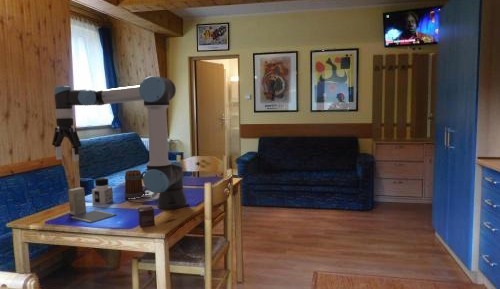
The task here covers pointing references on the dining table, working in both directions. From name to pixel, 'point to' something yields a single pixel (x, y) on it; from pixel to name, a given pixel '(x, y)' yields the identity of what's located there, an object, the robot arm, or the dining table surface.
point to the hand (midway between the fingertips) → (67, 160)
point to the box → (146, 216)
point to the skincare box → (77, 201)
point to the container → (102, 192)
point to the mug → (134, 184)
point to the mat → (93, 216)
